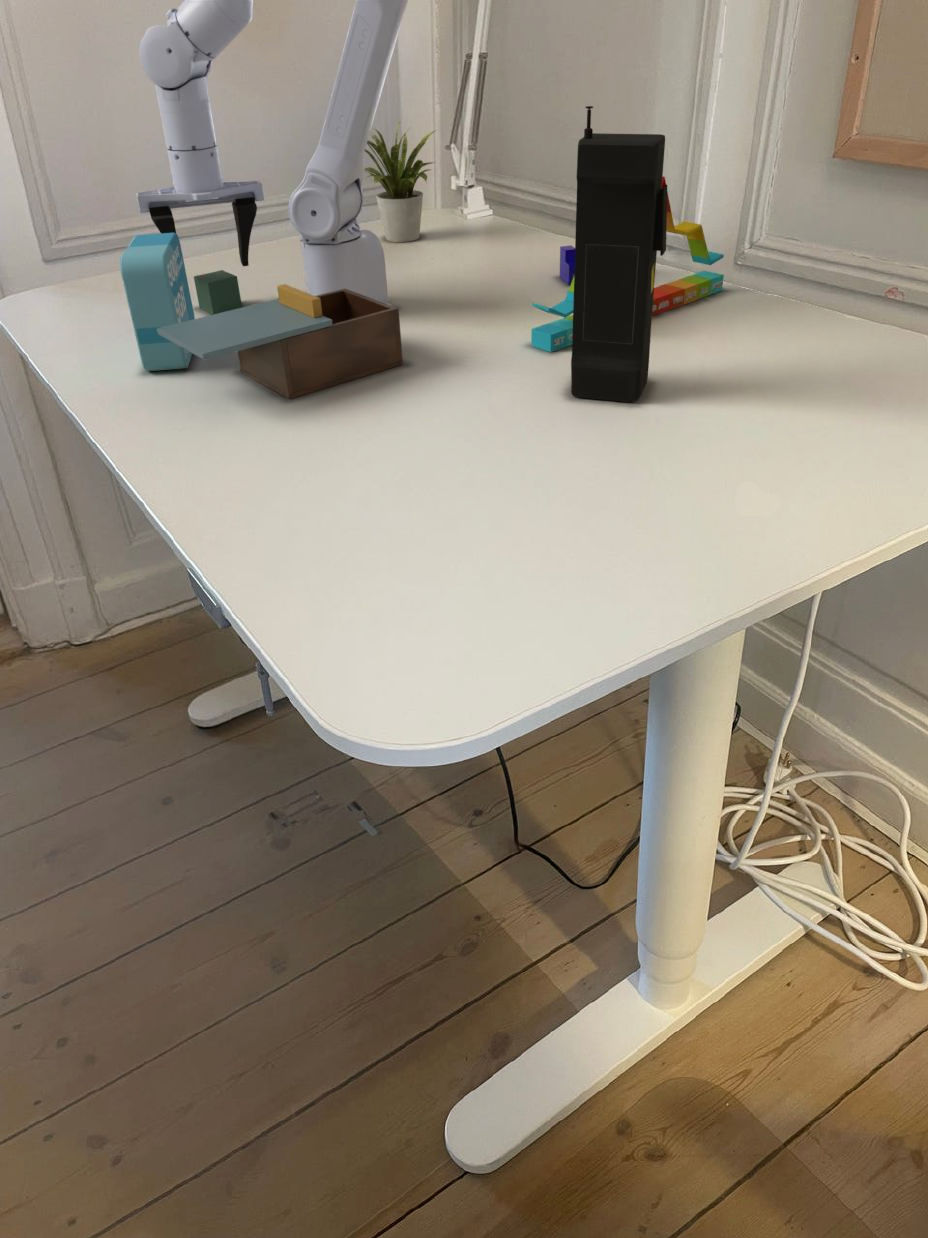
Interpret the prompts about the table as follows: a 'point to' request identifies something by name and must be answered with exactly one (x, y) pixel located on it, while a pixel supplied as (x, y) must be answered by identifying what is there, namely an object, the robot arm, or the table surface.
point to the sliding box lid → (249, 325)
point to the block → (217, 292)
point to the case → (329, 347)
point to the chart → (664, 295)
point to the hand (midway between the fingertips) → (213, 267)
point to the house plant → (398, 188)
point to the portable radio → (616, 261)
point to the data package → (157, 297)
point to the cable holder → (567, 263)
